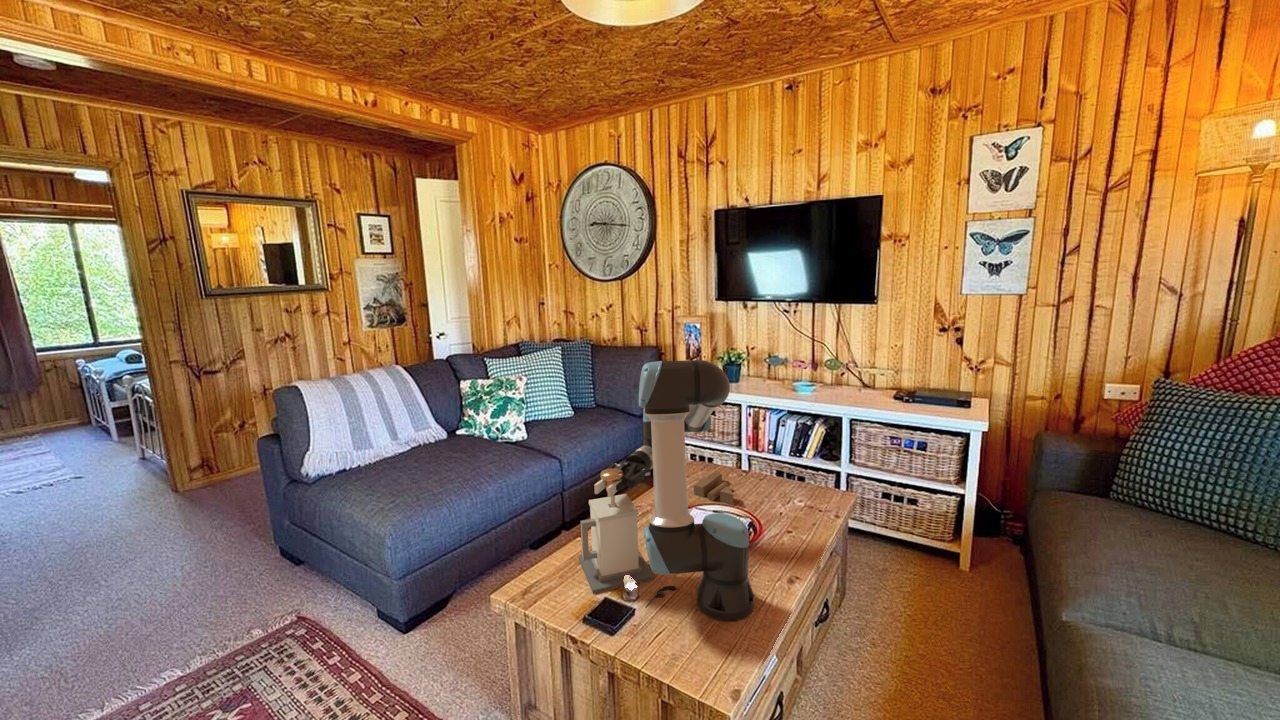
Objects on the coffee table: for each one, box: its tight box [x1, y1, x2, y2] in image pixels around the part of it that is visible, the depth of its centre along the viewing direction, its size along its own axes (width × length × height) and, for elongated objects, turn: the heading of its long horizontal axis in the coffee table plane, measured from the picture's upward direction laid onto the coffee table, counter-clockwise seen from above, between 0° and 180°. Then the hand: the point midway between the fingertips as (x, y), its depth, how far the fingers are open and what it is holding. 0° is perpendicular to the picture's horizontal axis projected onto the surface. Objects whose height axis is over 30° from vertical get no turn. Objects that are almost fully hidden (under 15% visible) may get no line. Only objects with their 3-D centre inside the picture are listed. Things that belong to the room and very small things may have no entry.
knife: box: [645, 585, 677, 609], centre depth 137 cm, size 14×4×1 cm, turn 149°
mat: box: [578, 550, 655, 594], centre depth 151 cm, size 18×18×1 cm
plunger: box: [600, 468, 623, 508], centre depth 148 cm, size 6×6×23 cm
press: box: [580, 493, 642, 582], centre depth 149 cm, size 12×16×19 cm
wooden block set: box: [693, 470, 734, 506], centre depth 199 cm, size 17×6×18 cm
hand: (602, 490), depth 142 cm, fingers closed on plunger, 4 cm apart
